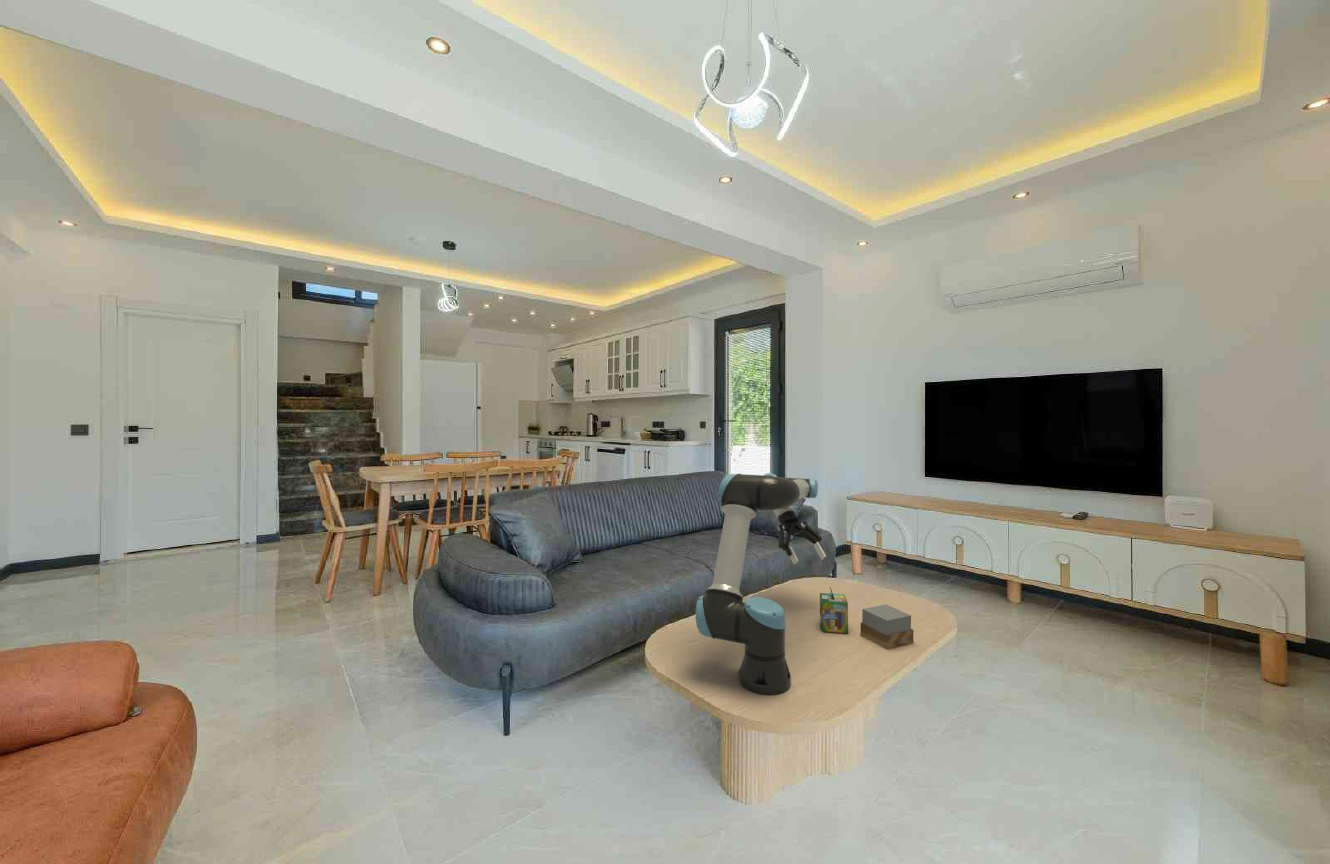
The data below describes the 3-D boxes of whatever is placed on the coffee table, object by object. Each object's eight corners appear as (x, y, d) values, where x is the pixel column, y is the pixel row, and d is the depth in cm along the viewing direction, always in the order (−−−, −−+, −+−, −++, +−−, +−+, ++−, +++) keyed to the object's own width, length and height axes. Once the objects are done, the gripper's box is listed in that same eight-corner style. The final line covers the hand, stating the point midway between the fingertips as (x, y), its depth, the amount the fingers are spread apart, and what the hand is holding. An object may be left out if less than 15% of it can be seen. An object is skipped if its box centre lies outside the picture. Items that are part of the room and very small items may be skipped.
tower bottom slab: (887, 650, 174) (887, 636, 173) (860, 636, 185) (860, 622, 184) (913, 643, 179) (913, 629, 178) (885, 630, 190) (885, 616, 189)
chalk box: (848, 634, 186) (848, 593, 185) (821, 632, 187) (821, 591, 187) (844, 623, 195) (845, 584, 194) (819, 621, 196) (819, 583, 196)
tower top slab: (886, 635, 174) (887, 620, 174) (862, 622, 184) (862, 609, 184) (910, 629, 178) (911, 615, 178) (885, 617, 189) (885, 604, 188)
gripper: (805, 516, 223) (829, 560, 211) (757, 522, 213) (779, 569, 200) (813, 506, 218) (839, 551, 206) (764, 512, 208) (788, 559, 195)
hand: (810, 560), depth 203 cm, fingers open, 13 cm apart
